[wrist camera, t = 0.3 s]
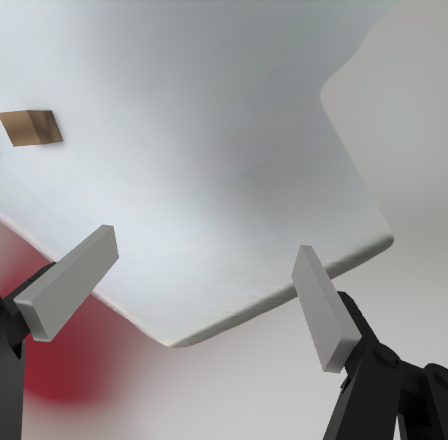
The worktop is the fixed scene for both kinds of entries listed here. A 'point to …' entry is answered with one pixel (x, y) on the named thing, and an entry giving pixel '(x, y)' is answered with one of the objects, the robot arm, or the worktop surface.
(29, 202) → the worktop surface
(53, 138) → the walnut cube
